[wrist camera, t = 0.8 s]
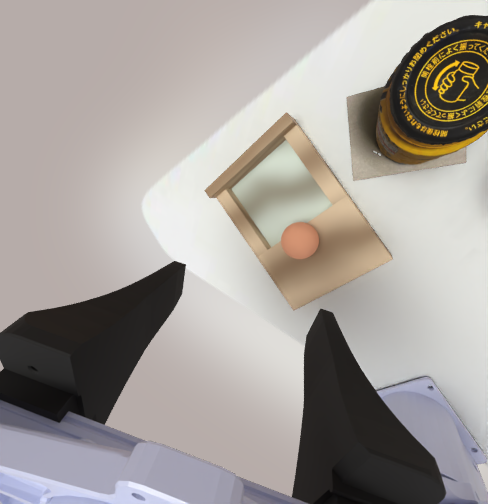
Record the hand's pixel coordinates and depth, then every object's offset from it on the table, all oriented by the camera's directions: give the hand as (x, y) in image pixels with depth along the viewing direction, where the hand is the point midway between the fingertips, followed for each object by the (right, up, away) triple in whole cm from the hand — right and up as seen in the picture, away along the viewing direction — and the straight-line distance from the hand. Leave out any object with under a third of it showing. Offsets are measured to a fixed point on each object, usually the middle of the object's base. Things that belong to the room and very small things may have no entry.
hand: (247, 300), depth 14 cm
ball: (+5, +4, +12) cm, 13 cm away
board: (+5, +6, +15) cm, 17 cm away
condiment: (+14, +13, +9) cm, 21 cm away
